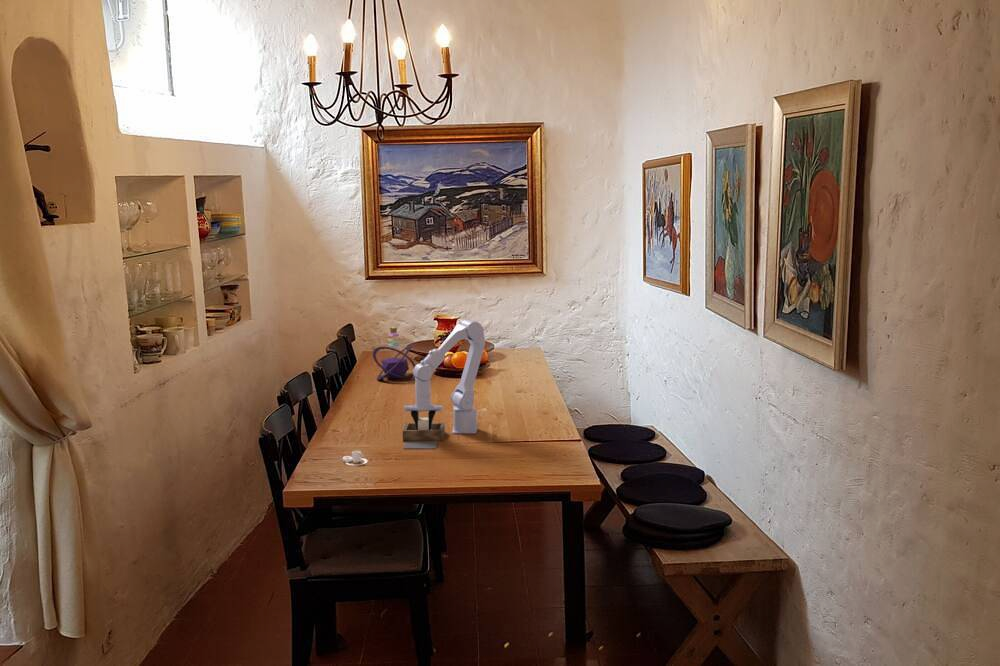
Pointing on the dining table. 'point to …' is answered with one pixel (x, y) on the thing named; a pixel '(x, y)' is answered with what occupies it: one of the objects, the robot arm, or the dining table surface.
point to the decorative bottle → (394, 360)
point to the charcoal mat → (420, 445)
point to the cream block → (423, 424)
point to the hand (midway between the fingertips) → (423, 429)
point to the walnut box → (424, 432)
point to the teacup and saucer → (354, 458)
